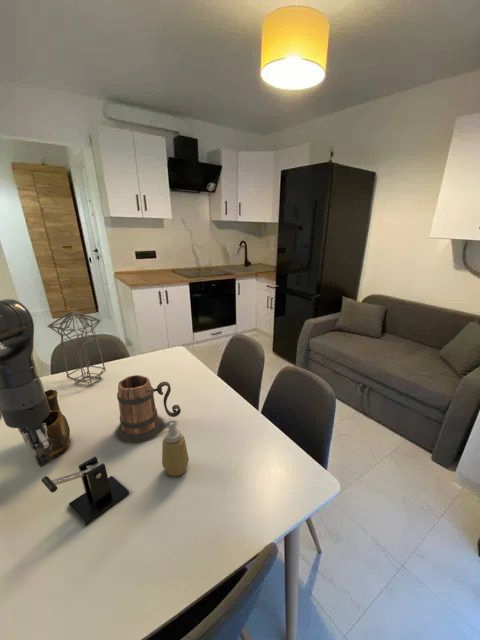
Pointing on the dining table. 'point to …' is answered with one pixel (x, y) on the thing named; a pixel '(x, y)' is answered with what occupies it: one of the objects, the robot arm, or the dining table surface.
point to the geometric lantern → (82, 316)
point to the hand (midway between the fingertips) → (44, 463)
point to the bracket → (97, 492)
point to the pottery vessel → (56, 426)
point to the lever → (66, 478)
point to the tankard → (140, 409)
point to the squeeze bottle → (174, 452)
